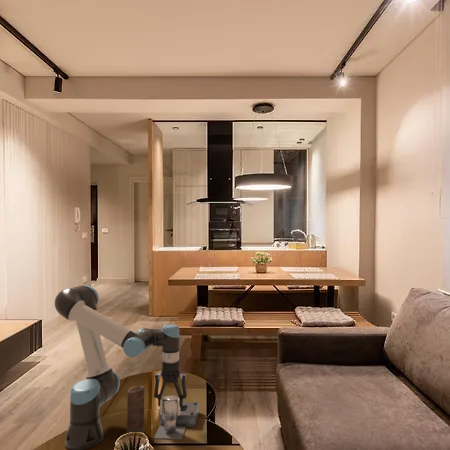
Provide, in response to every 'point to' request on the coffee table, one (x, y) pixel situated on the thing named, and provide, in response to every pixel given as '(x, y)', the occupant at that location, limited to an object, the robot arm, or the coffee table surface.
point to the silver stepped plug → (170, 412)
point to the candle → (135, 409)
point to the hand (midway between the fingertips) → (170, 413)
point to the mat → (170, 433)
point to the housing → (186, 415)
